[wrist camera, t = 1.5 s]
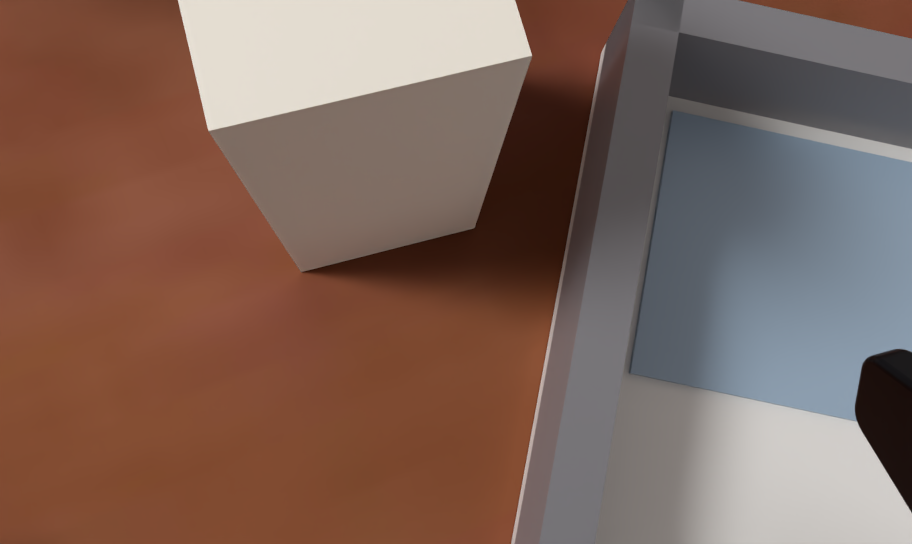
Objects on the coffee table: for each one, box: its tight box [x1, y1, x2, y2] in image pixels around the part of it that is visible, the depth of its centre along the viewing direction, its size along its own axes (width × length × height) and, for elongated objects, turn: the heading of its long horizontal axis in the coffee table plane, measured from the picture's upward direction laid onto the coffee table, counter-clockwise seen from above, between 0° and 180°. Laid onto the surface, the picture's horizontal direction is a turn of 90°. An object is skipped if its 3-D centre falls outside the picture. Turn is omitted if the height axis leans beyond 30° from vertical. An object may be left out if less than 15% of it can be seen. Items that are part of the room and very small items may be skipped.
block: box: [178, 0, 532, 272], centre depth 18 cm, size 5×5×11 cm
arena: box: [511, 0, 912, 544], centre depth 21 cm, size 17×12×4 cm
